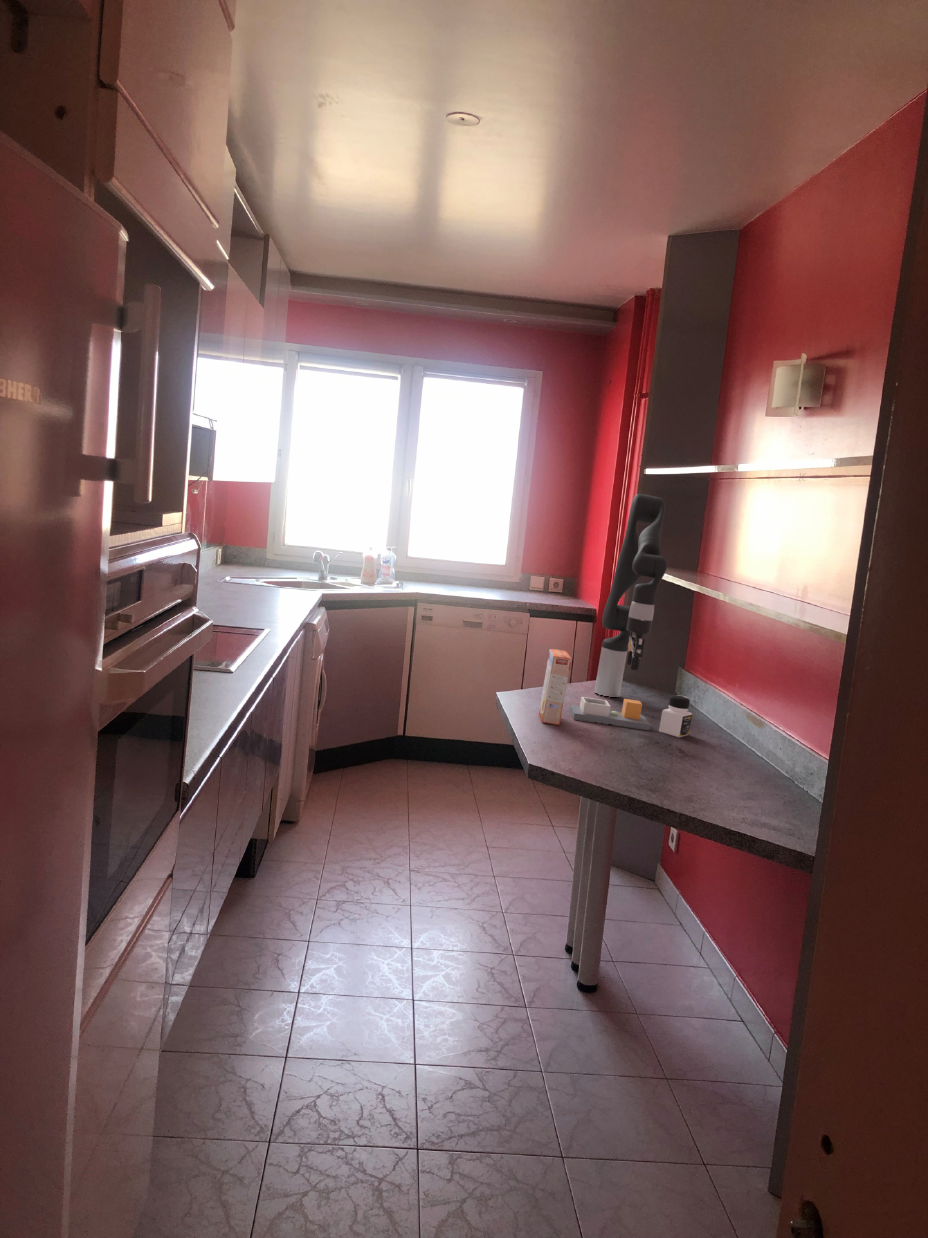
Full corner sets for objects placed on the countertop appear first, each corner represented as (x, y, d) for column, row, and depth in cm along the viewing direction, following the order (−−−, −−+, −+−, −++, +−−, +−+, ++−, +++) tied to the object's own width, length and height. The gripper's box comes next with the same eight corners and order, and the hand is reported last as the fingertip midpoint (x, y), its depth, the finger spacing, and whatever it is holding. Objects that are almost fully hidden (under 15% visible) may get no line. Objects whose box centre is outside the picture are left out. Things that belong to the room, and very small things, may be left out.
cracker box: (561, 726, 270) (572, 658, 267) (541, 723, 270) (552, 655, 267) (557, 715, 284) (568, 650, 281) (538, 712, 284) (548, 647, 281)
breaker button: (587, 707, 288) (588, 701, 288) (599, 708, 289) (600, 702, 288) (589, 710, 284) (590, 703, 284) (601, 711, 285) (602, 705, 284)
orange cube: (621, 713, 290) (624, 698, 290) (636, 715, 290) (639, 700, 290) (624, 717, 285) (626, 702, 285) (639, 719, 285) (642, 704, 285)
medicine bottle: (679, 737, 277) (686, 700, 276) (658, 731, 282) (665, 694, 280) (688, 735, 283) (695, 698, 282) (667, 729, 287) (674, 692, 286)
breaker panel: (569, 710, 293) (571, 694, 292) (641, 721, 293) (644, 704, 292) (573, 719, 281) (576, 702, 280) (649, 730, 281) (652, 713, 281)
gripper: (625, 612, 291) (617, 661, 293) (632, 618, 276) (623, 669, 279) (648, 616, 290) (639, 664, 293) (656, 622, 276) (647, 673, 279)
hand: (631, 667), depth 286 cm, fingers open, 8 cm apart
